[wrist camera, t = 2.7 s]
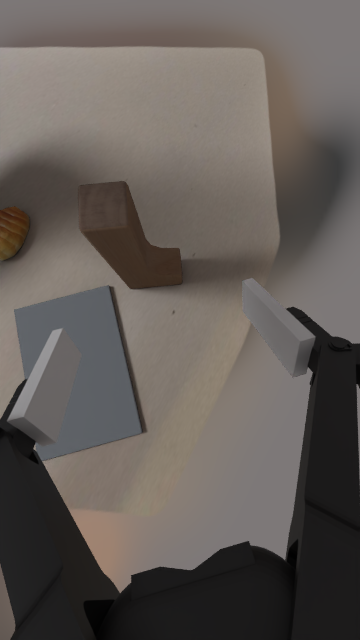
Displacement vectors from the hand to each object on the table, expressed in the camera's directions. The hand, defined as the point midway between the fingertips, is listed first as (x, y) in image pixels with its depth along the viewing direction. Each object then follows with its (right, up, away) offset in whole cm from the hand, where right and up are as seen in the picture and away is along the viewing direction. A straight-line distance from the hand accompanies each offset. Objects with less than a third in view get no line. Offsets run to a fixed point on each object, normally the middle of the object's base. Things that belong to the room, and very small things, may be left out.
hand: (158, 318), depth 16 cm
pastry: (-29, +14, +22) cm, 39 cm away
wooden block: (-3, +8, +21) cm, 22 cm away
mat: (-15, -8, +19) cm, 25 cm away
